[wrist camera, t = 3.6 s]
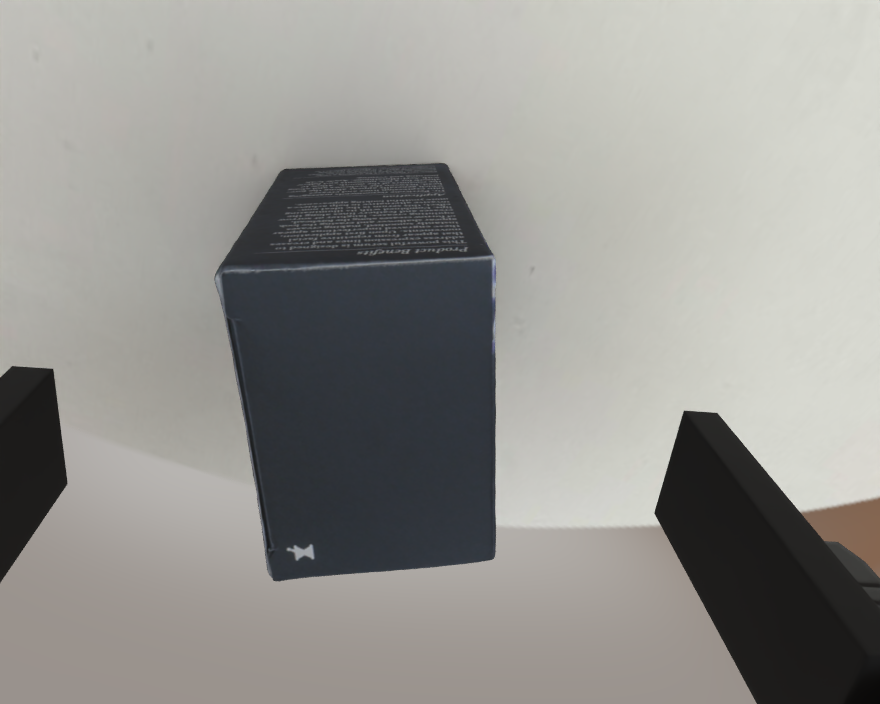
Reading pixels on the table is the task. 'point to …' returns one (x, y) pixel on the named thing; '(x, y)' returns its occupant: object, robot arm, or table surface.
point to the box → (366, 370)
